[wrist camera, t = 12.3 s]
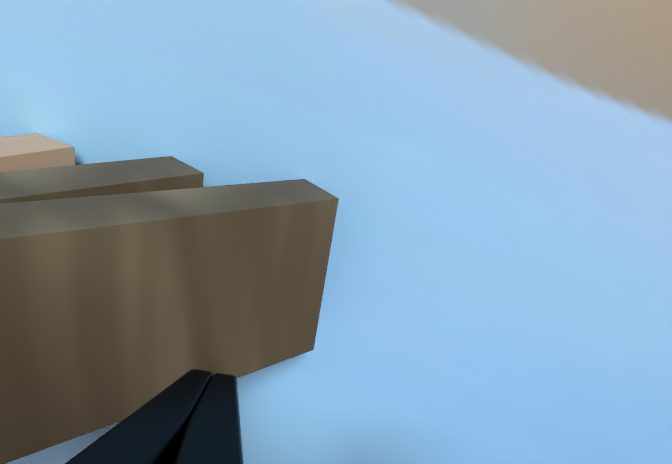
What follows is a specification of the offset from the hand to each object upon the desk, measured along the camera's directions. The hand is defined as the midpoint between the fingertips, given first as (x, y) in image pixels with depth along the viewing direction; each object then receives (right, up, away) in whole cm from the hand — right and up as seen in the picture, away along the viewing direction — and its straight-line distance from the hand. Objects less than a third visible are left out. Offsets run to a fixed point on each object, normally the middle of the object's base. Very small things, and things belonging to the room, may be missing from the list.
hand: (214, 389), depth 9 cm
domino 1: (+1, +2, +5) cm, 6 cm away
